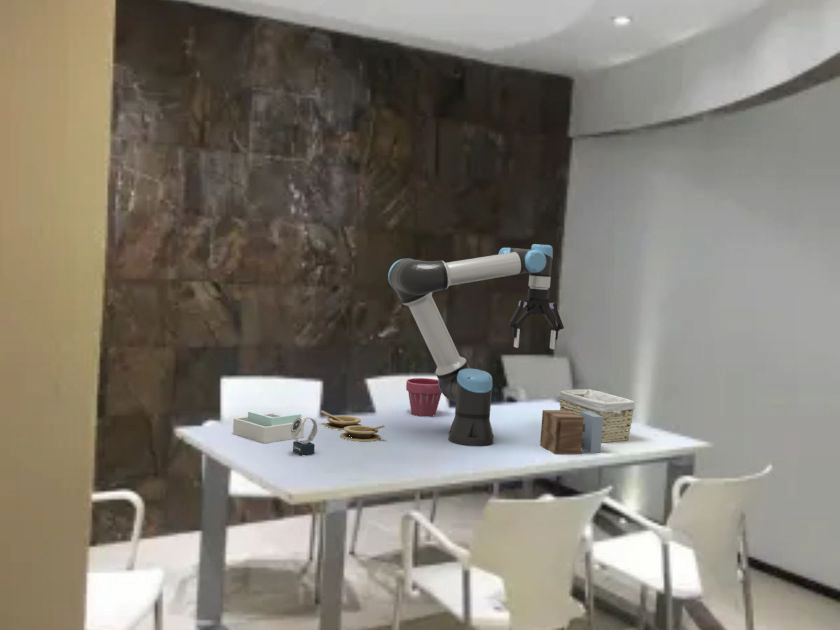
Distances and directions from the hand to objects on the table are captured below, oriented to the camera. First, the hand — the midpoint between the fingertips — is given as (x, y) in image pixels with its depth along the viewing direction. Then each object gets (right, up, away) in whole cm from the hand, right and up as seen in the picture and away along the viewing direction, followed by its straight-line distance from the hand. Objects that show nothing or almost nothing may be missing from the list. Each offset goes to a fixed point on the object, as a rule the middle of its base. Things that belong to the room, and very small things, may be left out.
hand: (534, 348), depth 325 cm
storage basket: (+22, -32, +4) cm, 39 cm away
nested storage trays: (-89, -27, -30) cm, 98 cm away
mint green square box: (-88, -28, -29) cm, 97 cm away
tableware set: (-64, -29, -16) cm, 72 cm away
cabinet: (+6, -33, -23) cm, 40 cm away
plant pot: (-39, -26, +22) cm, 52 cm away
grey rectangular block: (+16, -33, -20) cm, 42 cm away
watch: (-76, -30, -50) cm, 95 cm away
